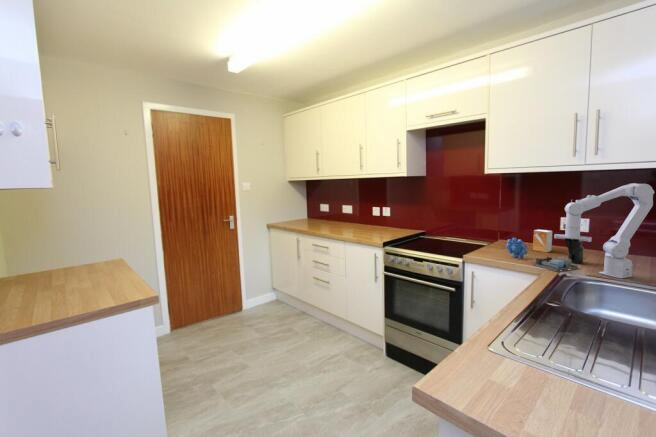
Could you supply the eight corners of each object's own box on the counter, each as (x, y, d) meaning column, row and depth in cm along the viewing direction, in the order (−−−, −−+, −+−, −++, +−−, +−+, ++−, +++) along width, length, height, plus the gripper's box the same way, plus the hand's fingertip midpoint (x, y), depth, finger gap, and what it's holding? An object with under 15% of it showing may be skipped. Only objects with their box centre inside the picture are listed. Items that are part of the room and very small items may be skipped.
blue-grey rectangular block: (564, 266, 163) (564, 261, 162) (557, 267, 162) (557, 262, 161) (551, 263, 170) (551, 257, 169) (544, 264, 168) (544, 258, 168)
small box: (532, 250, 204) (533, 230, 202) (538, 248, 207) (539, 229, 205) (546, 252, 197) (547, 231, 195) (551, 251, 200) (552, 230, 198)
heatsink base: (577, 268, 163) (578, 260, 162) (556, 271, 159) (557, 263, 159) (552, 262, 176) (552, 254, 176) (532, 264, 173) (532, 257, 172)
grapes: (502, 257, 190) (503, 237, 189) (507, 255, 195) (507, 236, 193) (524, 260, 181) (525, 240, 180) (528, 258, 186) (529, 238, 184)
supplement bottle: (579, 260, 176) (580, 239, 175) (585, 264, 170) (587, 242, 168) (565, 260, 178) (566, 239, 177) (570, 263, 172) (571, 242, 170)
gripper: (593, 227, 152) (592, 254, 153) (557, 224, 163) (556, 250, 164) (590, 229, 147) (588, 257, 149) (553, 226, 158) (552, 252, 160)
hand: (571, 254), depth 156 cm, fingers closed
